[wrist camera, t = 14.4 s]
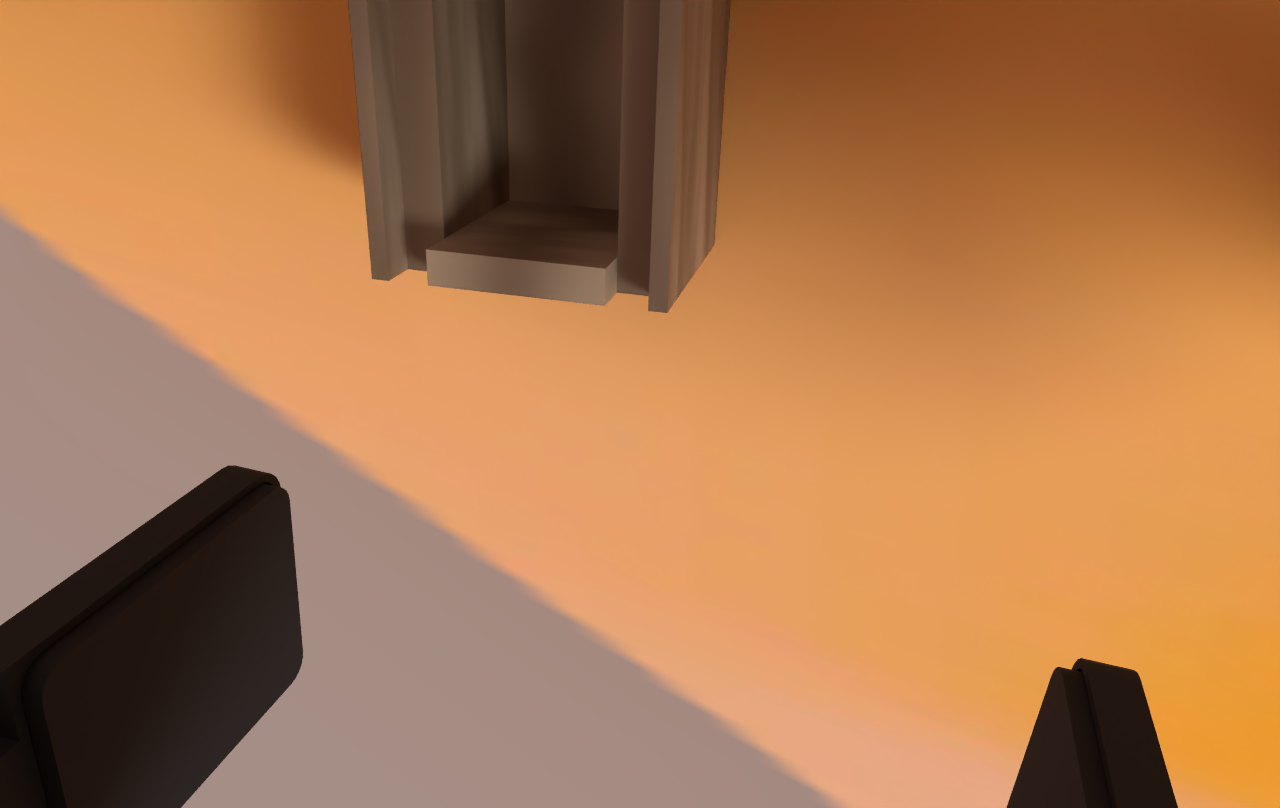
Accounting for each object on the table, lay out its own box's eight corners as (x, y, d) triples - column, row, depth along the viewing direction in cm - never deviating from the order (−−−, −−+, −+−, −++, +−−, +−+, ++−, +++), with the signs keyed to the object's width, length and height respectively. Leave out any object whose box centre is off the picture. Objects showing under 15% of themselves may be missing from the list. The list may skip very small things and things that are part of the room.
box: (747, -252, 30) (697, -320, 23) (714, 245, 37) (667, 313, 30) (451, -249, 33) (320, -310, 25) (470, 220, 39) (371, 278, 32)
